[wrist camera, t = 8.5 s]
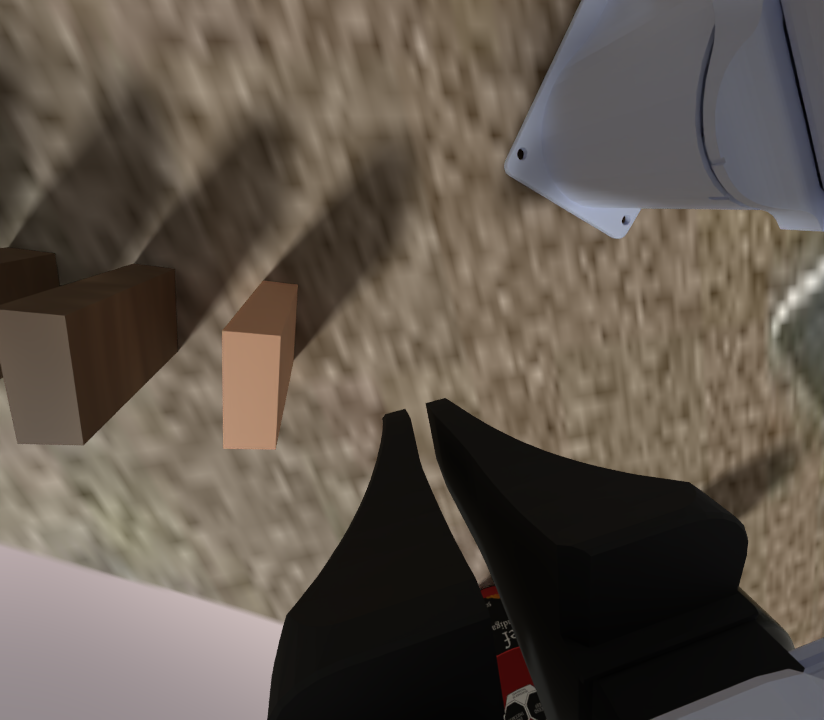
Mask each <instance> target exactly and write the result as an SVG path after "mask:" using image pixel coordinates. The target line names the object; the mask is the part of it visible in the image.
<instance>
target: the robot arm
mask: <svg viewBox="0 0 824 720" xmlns="http://www.w3.org/2000/svg"><path fill="white" fill-rule="evenodd" d="M519 149H522V151H523V153H524V155H523V158H522V159H521V160H519V158H518V157H517V152H518V150H519ZM504 169H505V172H506V173H507V174H508V175H509V176H510V177H512V178H514V179H515V180H517V181H519V182H520V183H522V184H524V185H525V186H527V187H529V188H530V189H532V190H534V191H535V192H537V193H539V194H540V195H542V196H544V197H545V198H547V199H549V200H550V201H552V202H553V203H555V204H557V205H558V206H560V207H562V208H563V209H565V210H567V211H568V212H570V213H572V214H573V215H575V216H577V217H578V218H580V219H582V220H583V221H585V222H587V223H588V224H590V225H592V226H593V227H595V228H597V229H598V230H600V231H602V232H603V233H605V234H607V235H608V236H610V237H612V238H616V239H619V238H622V237H624V236H625V235H626V234H627V232H628V230H629V229H630V227H631V225H632V224H633V222H634V220H635V218H636V217H637V215H638V213H639V212H640V210H641V208H651V209H731V210H764V211H767V212H769V213H770V214H771V215H773V217H774V218H775V219H776V220H777V223H778V225H779V227H780V229H787V230H806V231H824V0H581V2H580V4H579V6H578V8H577V11H576V13H575V15H574V17H573V19H572V21H571V23H570V25H569V27H568V30H567V32H566V34H565V36H564V38H563V40H562V42H561V44H560V46H559V48H558V51H557V53H556V55H555V57H554V59H553V61H552V63H551V65H550V67H549V70H548V72H547V74H546V76H545V78H544V80H543V82H542V84H541V86H540V89H539V91H538V93H537V95H536V97H535V99H534V101H533V103H532V105H531V107H530V110H529V112H528V114H527V116H526V118H525V120H524V122H523V124H522V126H521V129H520V131H519V133H518V135H517V137H516V139H515V141H514V143H513V145H512V147H511V150H510V152H509V154H508V156H507V158H506V160H505V164H504ZM624 216H625V222H624V223H623V224H622V219H623V217H624ZM426 408H427V413H428V418H429V423H430V428H431V433H432V439H433V444H434V449H435V454H436V459H437V461H438V464H439V467H440V470H441V472H442V475H443V478H444V480H445V483H446V486H447V488H448V490H449V492H450V494H451V496H452V498H453V500H454V501H455V503H456V505H457V507H458V509H459V511H460V513H461V515H462V517H463V519H464V521H465V523H466V525H467V526H468V528H469V530H470V532H471V534H472V536H473V538H474V540H475V542H476V544H477V546H478V548H479V549H480V552H481V554H482V556H483V558H484V560H485V562H486V564H487V567H488V569H489V572H490V574H491V576H492V579H493V581H494V584H495V586H496V589H497V591H498V594H499V596H500V599H501V601H502V604H503V606H504V609H505V611H506V614H507V616H508V619H509V622H510V624H511V627H512V629H513V632H514V634H515V637H516V639H517V642H518V644H519V647H520V650H521V652H522V655H523V658H524V660H525V663H526V665H527V668H528V671H529V673H530V676H531V678H532V681H533V684H534V686H535V689H536V692H537V694H538V697H539V700H540V702H541V705H542V708H543V710H544V713H545V716H546V719H547V720H824V637H823V638H821V639H818V640H816V641H813V642H811V643H808V644H806V645H803V646H801V647H798V648H796V649H793V650H791V651H787V650H786V649H785V648H784V647H783V646H782V645H781V644H780V643H778V642H777V641H776V640H775V639H774V638H773V637H772V636H771V635H770V634H769V633H768V632H767V631H766V630H765V629H764V628H763V627H762V626H761V625H760V624H759V623H758V622H757V621H756V620H755V619H756V618H757V617H758V614H759V613H758V611H757V609H756V607H755V606H754V605H753V604H752V603H751V602H750V601H749V600H748V599H747V598H746V597H744V596H743V595H742V594H741V593H740V592H739V591H738V587H739V583H740V579H741V575H742V571H743V568H744V564H745V560H746V556H747V548H748V537H747V534H746V531H745V527H744V525H743V524H742V523H741V522H740V521H739V520H738V519H737V518H736V517H735V516H734V515H732V514H731V513H730V512H728V511H727V510H726V509H725V508H723V507H722V506H721V505H719V504H718V503H717V502H715V501H714V500H713V499H711V498H710V497H709V496H707V495H706V494H705V493H703V492H702V491H701V490H699V489H698V488H697V487H695V486H694V485H692V484H691V483H690V482H684V481H677V480H670V479H663V478H656V477H649V476H642V475H636V474H630V473H625V472H621V471H616V470H611V469H606V468H602V467H598V466H594V465H590V464H586V463H582V462H579V461H575V460H572V459H569V458H565V457H562V456H559V455H556V454H553V453H550V452H547V451H544V450H542V449H539V448H537V447H534V446H532V445H529V444H526V443H524V442H522V441H519V440H517V439H515V438H513V437H511V436H509V435H507V434H505V433H503V432H501V431H499V430H497V429H495V428H493V427H491V426H489V425H488V424H486V423H484V422H483V421H481V420H479V419H477V418H476V417H474V416H473V415H471V414H469V413H468V412H466V411H465V410H463V409H462V408H460V407H459V406H457V405H455V404H454V403H452V402H451V401H449V400H448V399H446V398H444V399H440V400H436V401H432V402H429V403H426ZM382 420H383V431H382V438H381V444H380V448H379V452H378V457H377V461H376V464H375V467H374V470H373V473H372V476H371V480H370V482H369V485H368V488H367V490H366V493H365V495H364V497H363V500H362V502H361V504H360V506H359V508H358V510H357V512H356V514H355V516H354V518H353V520H352V522H351V524H350V526H349V528H348V530H347V531H346V533H345V535H344V537H343V538H342V540H341V542H340V543H339V545H338V546H337V548H336V549H335V551H334V552H333V554H332V556H331V557H330V559H329V560H328V562H327V563H326V565H325V566H324V568H323V569H322V571H321V572H320V574H319V575H318V576H317V578H316V579H315V580H314V582H313V583H312V584H311V585H310V587H309V588H308V589H307V590H306V592H305V593H304V594H303V596H302V597H301V598H300V599H299V601H298V602H297V603H296V604H295V606H294V607H293V608H292V609H291V610H290V611H289V613H288V614H287V615H286V619H285V622H284V625H283V629H282V633H281V637H280V640H279V645H278V649H277V654H276V658H275V662H274V667H273V673H272V679H271V689H270V699H269V708H268V718H267V720H504V715H505V709H504V702H503V696H502V689H501V683H500V676H499V670H498V663H497V657H496V650H495V644H494V637H493V631H492V624H491V618H490V614H489V611H488V608H487V606H486V603H485V601H484V598H483V596H482V593H481V591H480V588H479V586H478V583H477V581H476V578H475V576H474V574H473V573H472V571H471V569H470V567H469V566H468V564H467V562H466V560H465V558H464V556H463V554H462V552H461V551H460V549H459V547H458V545H457V543H456V541H455V539H454V537H453V535H452V533H451V531H450V529H449V527H448V525H447V523H446V521H445V519H444V516H443V514H442V512H441V510H440V508H439V506H438V503H437V501H436V499H435V497H434V494H433V492H432V490H431V488H430V485H429V483H428V481H427V478H426V476H425V473H424V471H423V469H422V465H421V462H420V459H419V454H418V450H417V445H416V441H415V436H414V432H413V427H412V423H411V419H410V417H409V415H408V413H407V411H406V409H403V410H399V411H396V412H392V413H388V414H385V416H384V417H383V418H382Z"/></svg>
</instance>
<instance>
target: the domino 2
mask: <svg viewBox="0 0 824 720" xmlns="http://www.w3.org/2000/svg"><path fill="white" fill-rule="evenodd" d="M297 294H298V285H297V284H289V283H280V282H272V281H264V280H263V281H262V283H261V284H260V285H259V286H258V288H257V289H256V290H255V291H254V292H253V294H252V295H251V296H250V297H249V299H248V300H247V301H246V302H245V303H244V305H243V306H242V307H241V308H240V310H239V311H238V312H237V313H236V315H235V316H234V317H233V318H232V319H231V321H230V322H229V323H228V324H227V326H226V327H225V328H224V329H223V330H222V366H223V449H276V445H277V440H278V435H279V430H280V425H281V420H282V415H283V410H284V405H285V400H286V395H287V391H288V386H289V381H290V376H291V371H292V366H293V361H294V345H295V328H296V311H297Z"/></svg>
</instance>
